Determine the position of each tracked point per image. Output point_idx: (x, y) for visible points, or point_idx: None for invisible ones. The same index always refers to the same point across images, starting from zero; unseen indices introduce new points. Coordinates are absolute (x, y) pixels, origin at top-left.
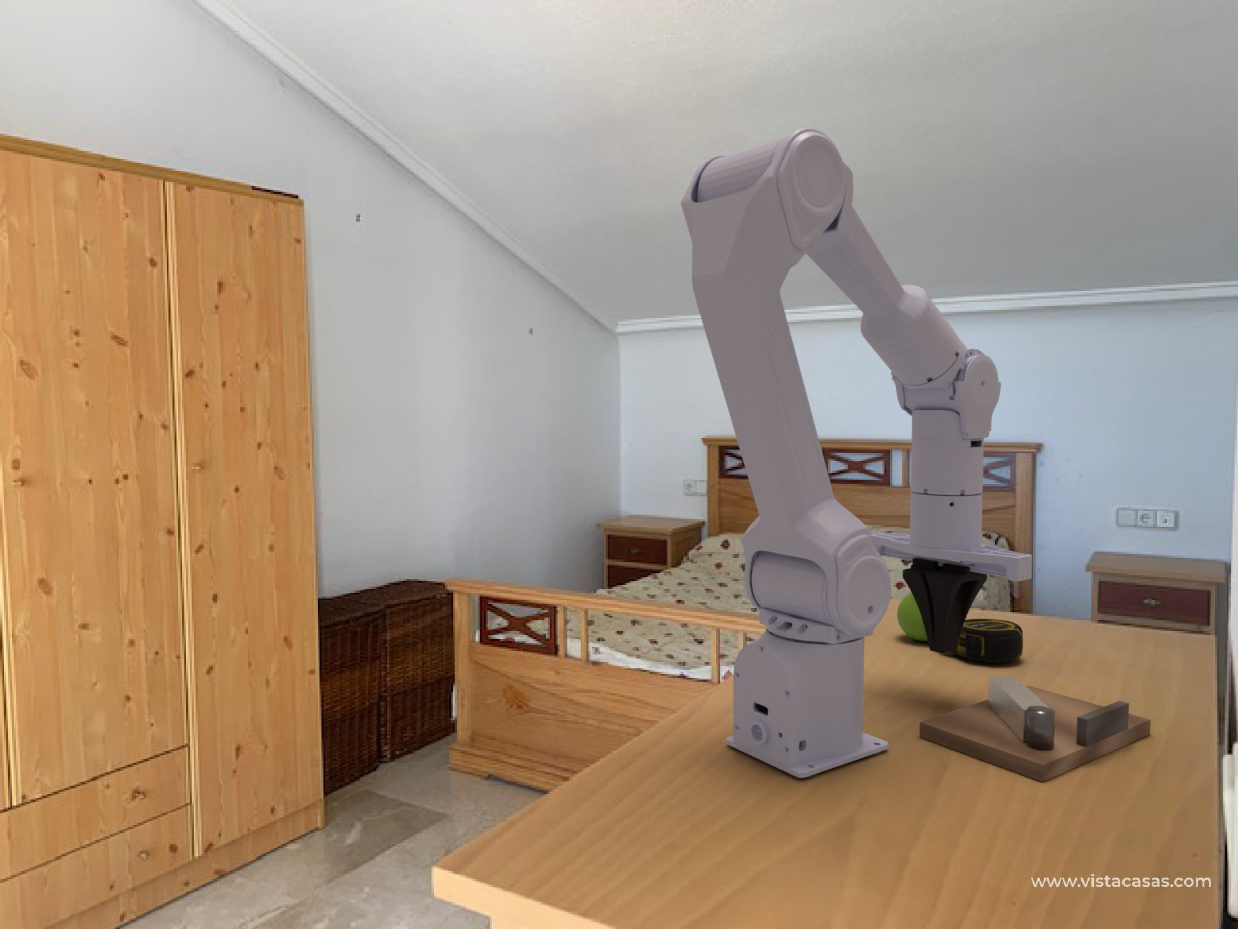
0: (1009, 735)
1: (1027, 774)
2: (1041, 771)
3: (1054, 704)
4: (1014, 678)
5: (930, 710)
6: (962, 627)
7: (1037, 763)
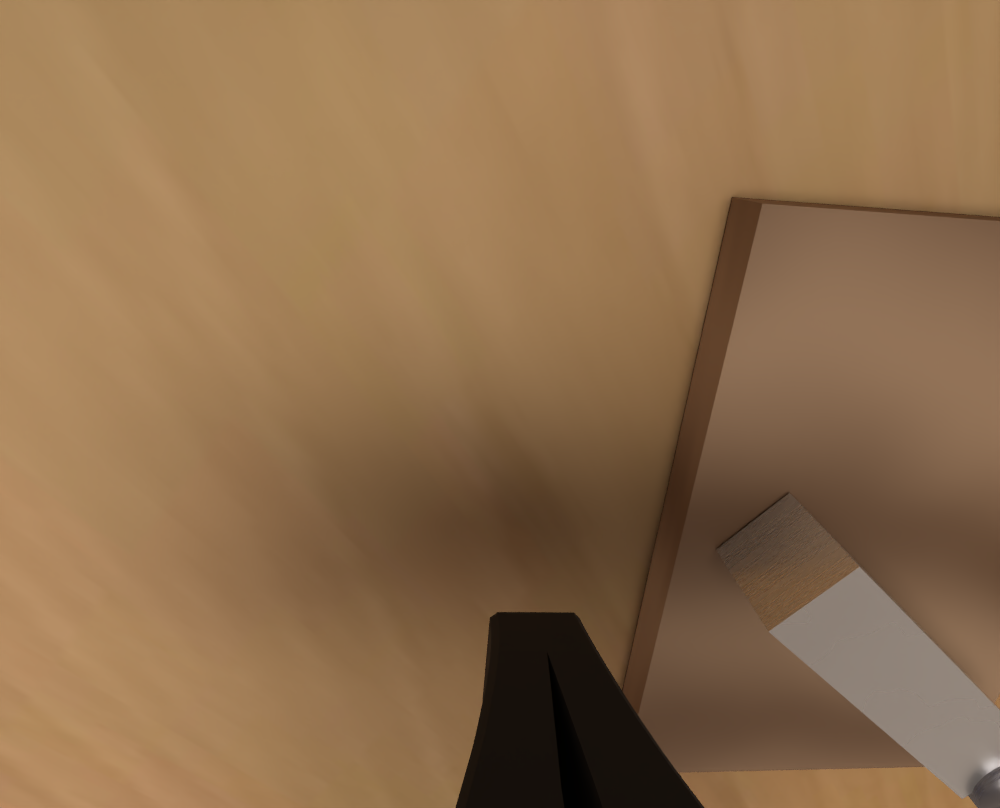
0: None
1: None
2: None
3: (912, 366)
4: (866, 590)
5: (518, 574)
6: (634, 713)
7: None
